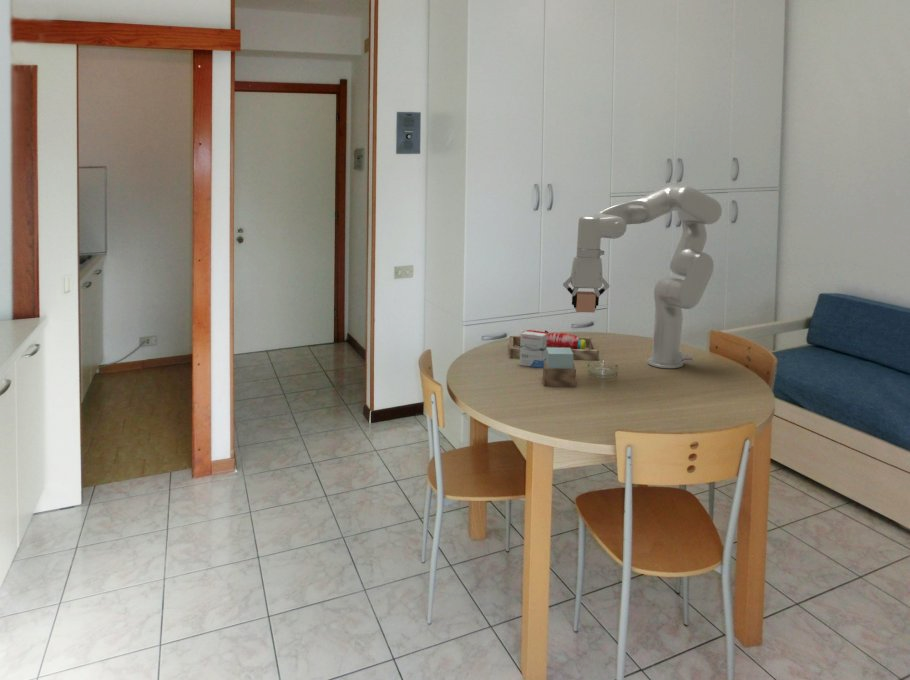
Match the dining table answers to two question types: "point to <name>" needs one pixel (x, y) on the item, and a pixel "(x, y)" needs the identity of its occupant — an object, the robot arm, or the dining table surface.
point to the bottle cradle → (577, 353)
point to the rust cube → (585, 301)
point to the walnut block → (559, 376)
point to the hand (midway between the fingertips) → (584, 306)
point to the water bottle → (562, 340)
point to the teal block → (559, 358)
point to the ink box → (533, 349)
